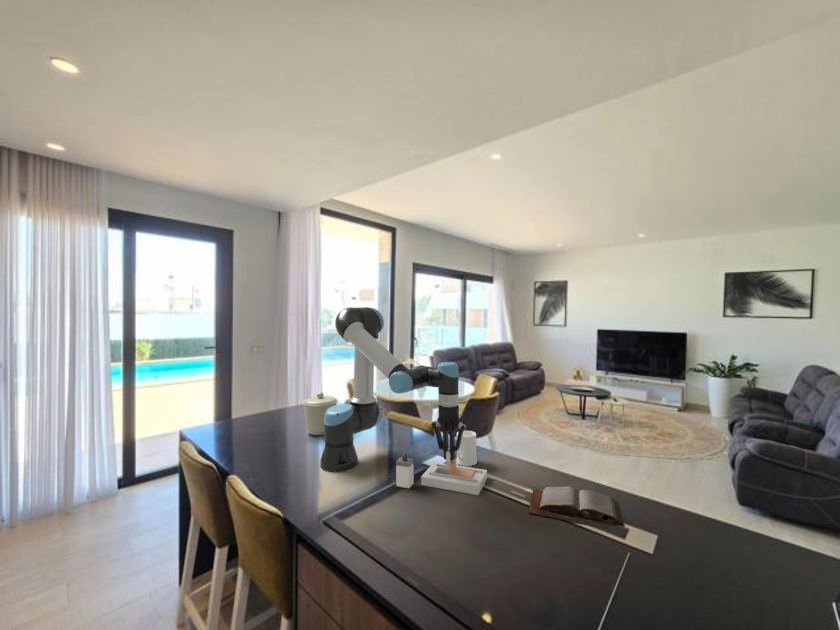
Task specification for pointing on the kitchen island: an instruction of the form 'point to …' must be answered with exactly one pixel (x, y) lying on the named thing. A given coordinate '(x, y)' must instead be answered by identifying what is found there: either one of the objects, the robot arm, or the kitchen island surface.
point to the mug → (467, 449)
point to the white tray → (453, 479)
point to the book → (576, 506)
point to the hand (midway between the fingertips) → (449, 468)
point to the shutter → (459, 471)
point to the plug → (404, 472)
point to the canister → (317, 412)
